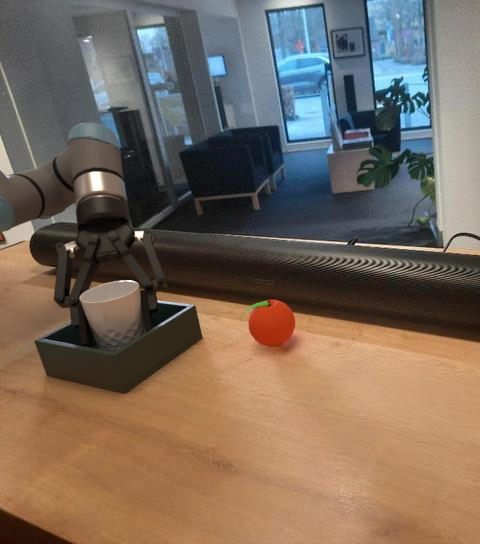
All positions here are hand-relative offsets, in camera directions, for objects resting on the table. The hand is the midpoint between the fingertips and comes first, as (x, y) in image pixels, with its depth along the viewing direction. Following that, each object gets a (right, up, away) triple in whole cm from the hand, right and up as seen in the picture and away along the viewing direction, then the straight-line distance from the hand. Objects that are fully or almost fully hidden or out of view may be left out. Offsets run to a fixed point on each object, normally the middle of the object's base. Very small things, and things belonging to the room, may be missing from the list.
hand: (119, 340), depth 71 cm
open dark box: (-1, -3, +5) cm, 6 cm away
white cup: (-1, -2, +5) cm, 5 cm away
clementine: (+21, -1, +5) cm, 22 cm away
